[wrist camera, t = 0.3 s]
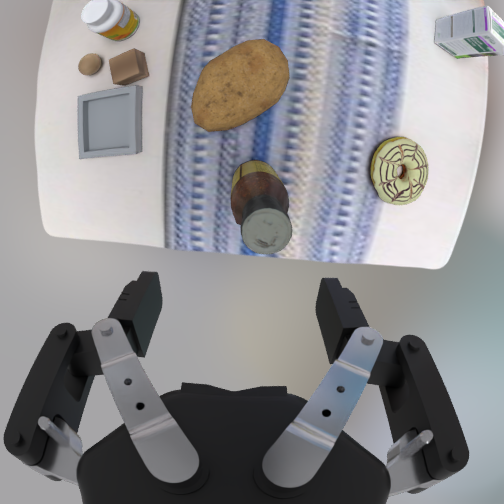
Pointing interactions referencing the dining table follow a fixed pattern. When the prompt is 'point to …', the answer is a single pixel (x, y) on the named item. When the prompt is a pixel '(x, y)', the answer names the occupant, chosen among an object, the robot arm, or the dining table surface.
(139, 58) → the walnut block
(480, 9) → the syrup box
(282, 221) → the sauce bottle
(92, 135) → the tray
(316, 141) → the dining table surface
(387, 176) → the decorated donut
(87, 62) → the cork ball
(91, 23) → the supplement bottle
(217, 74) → the potato
